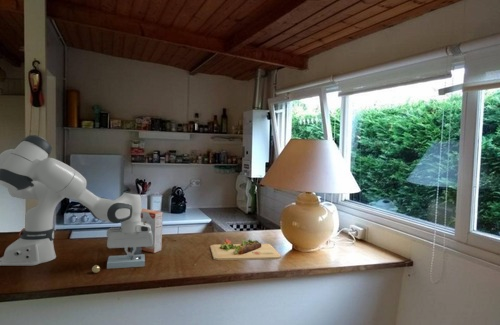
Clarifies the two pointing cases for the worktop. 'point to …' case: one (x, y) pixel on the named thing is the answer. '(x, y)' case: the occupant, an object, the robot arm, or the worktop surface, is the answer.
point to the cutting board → (244, 251)
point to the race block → (137, 251)
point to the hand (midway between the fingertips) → (130, 256)
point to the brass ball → (95, 268)
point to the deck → (125, 261)
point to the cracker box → (153, 228)
